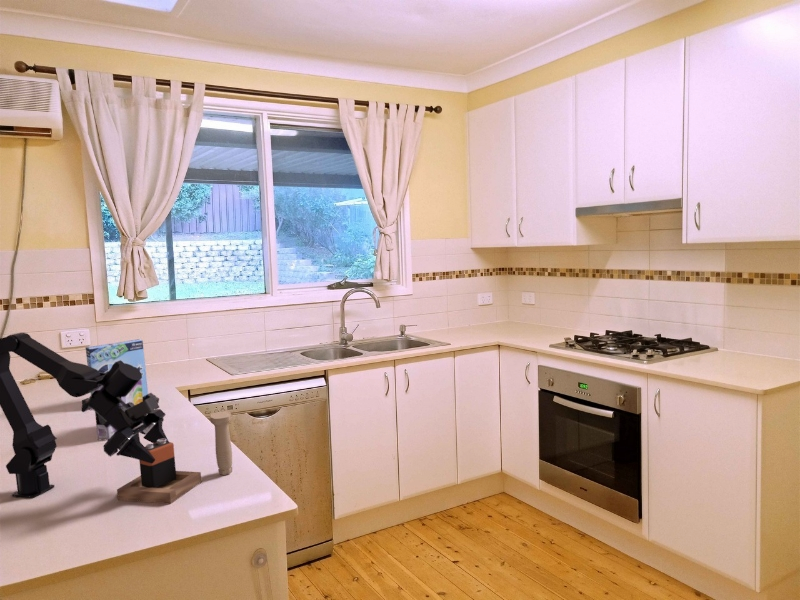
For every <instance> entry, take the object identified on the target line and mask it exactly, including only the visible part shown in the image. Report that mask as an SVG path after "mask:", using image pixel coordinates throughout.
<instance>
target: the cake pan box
mask: <svg viewBox="0 0 800 600" xmlns="http://www.w3.org/2000/svg"><path fill="white" fill-rule="evenodd" d="M140 372H141V371H140ZM102 387H103V385H102V386H100V387H99V388H98V389H97V390H101V388H102ZM97 390H95V391H97ZM95 391H93V393H94V392H95ZM119 398H120V399H122V400H123V401H124V402H125V403H126V404H127V403H129V402H132V403H133V404H134V405H137V404H138V403H140V402H142V401H143V393H142V380H140V381H139V382H138V383H137V384H136V385H135V386H134V388H133V389H132V390H131V391H130V392H129V393H128V395H127V396H125V397H119ZM94 414H95V426H96V435H97V440H98V439H110V438H111V436H112V435H113V434H114V433H115V432H116V430H115V429H113V428H112V427H111V426H109V427H107V428H106V427H105V426H104V424H105V423H106V421H105V420H104V419H103V418H102V417H101V416H99V415H98V414H97V413H96V412H95V411H94Z"/></svg>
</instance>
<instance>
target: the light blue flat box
mask: <svg viewBox="0 0 800 600" xmlns="http://www.w3.org/2000/svg"><path fill="white" fill-rule="evenodd" d="M85 353H86V354H85V357H86V363H87V366H89V367H92V368H94V369H96V370H98V371H99V372H102V373H108V372H109V370H110V369H111V368H112V366H113V364H114V363H115V362H117V361H120V360H121V361H122V362H123V363H126V364H129V365H132V366H133V367H136V368H137V369H138V370H139V371H141V374H142V378H141V380H142V393H143V396H145V395H147V394H149V388H148V387H149V386H148V381H147V380H148V379H147V371H146V369H147V368H146V361H145V351H144V341H143V340H142V339H133V340H126V341H119V342H113V343H107V344H100V345H99V344H98V345H94V346H87V347H85ZM92 394H93V392H91V393H90V396H91V395H92Z"/></svg>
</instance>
